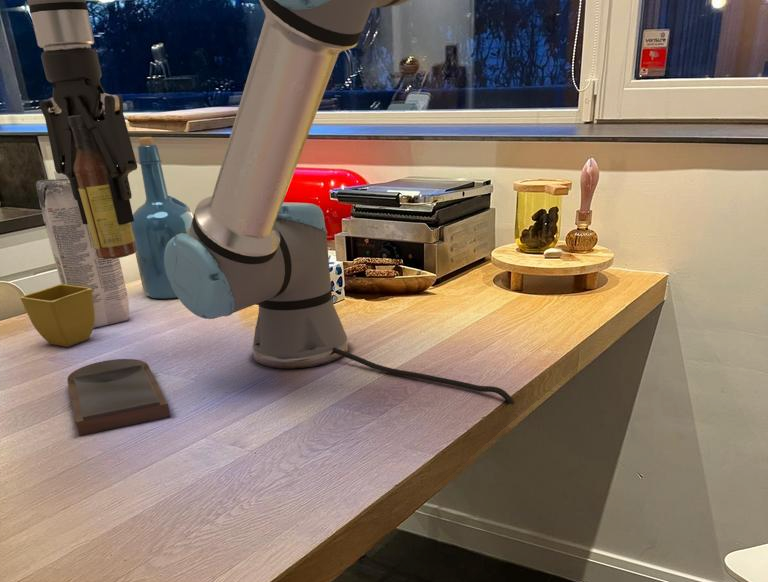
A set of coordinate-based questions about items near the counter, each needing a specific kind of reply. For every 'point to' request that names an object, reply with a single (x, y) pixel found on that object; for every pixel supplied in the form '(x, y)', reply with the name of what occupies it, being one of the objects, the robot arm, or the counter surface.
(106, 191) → the sauce bottle
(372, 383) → the counter surface
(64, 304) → the flower pot
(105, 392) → the board
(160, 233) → the wine bottle
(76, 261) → the juice carton
